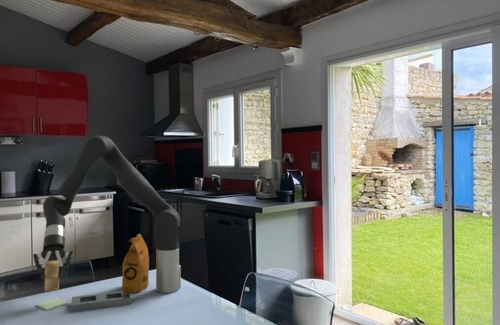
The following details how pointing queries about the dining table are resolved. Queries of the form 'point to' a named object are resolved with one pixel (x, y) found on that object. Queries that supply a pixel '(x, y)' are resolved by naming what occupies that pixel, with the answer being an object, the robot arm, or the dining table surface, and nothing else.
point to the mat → (52, 304)
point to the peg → (51, 275)
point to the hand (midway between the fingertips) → (51, 278)
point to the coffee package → (136, 266)
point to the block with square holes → (100, 301)
